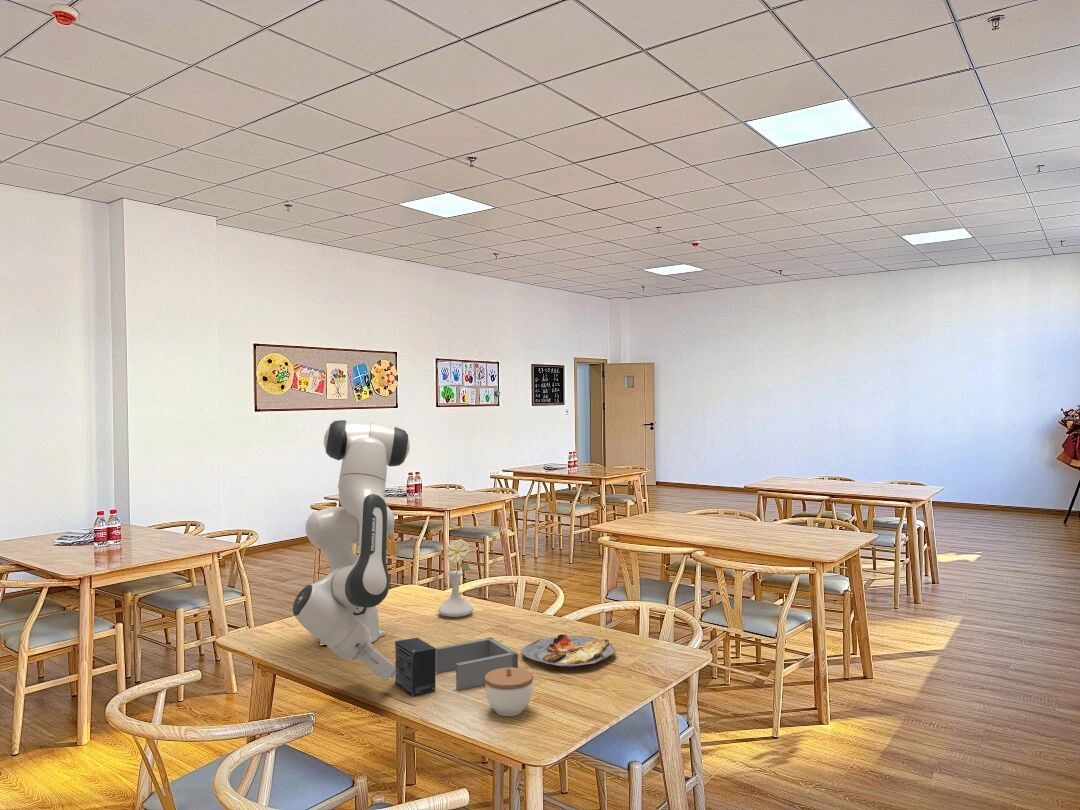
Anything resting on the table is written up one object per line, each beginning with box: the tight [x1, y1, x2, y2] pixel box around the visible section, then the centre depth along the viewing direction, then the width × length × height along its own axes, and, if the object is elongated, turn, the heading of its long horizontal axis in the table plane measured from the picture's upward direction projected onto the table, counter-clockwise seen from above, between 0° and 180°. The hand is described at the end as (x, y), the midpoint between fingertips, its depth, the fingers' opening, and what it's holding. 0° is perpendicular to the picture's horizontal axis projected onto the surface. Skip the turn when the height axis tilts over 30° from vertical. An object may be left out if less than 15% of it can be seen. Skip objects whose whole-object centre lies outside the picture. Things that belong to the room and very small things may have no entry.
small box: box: [394, 637, 436, 697], centre depth 179 cm, size 11×6×10 cm, turn 34°
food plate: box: [520, 633, 616, 669], centre depth 200 cm, size 25×23×4 cm
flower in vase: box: [437, 538, 474, 618], centre depth 240 cm, size 13×11×25 cm
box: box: [435, 637, 519, 691], centre depth 187 cm, size 15×16×6 cm
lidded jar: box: [484, 667, 534, 717], centre depth 165 cm, size 11×11×9 cm
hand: (392, 673), depth 176 cm, fingers closed
